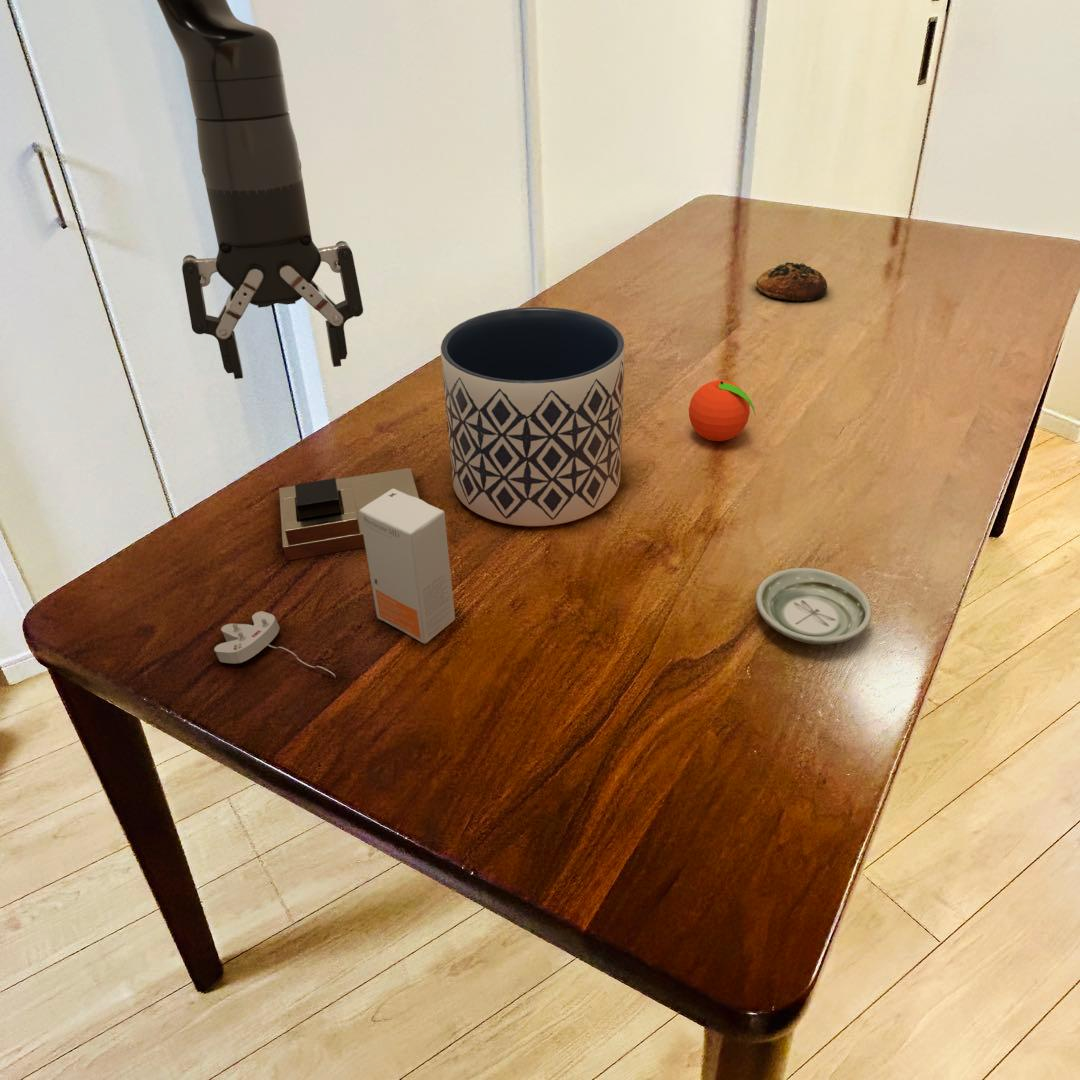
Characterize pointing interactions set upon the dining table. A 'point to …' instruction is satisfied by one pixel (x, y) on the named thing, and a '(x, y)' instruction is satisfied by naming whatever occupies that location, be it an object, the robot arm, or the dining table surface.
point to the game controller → (249, 639)
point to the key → (317, 499)
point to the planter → (534, 413)
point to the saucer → (813, 606)
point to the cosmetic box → (409, 564)
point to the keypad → (341, 528)
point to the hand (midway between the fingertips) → (288, 369)
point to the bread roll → (792, 282)
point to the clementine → (719, 410)
